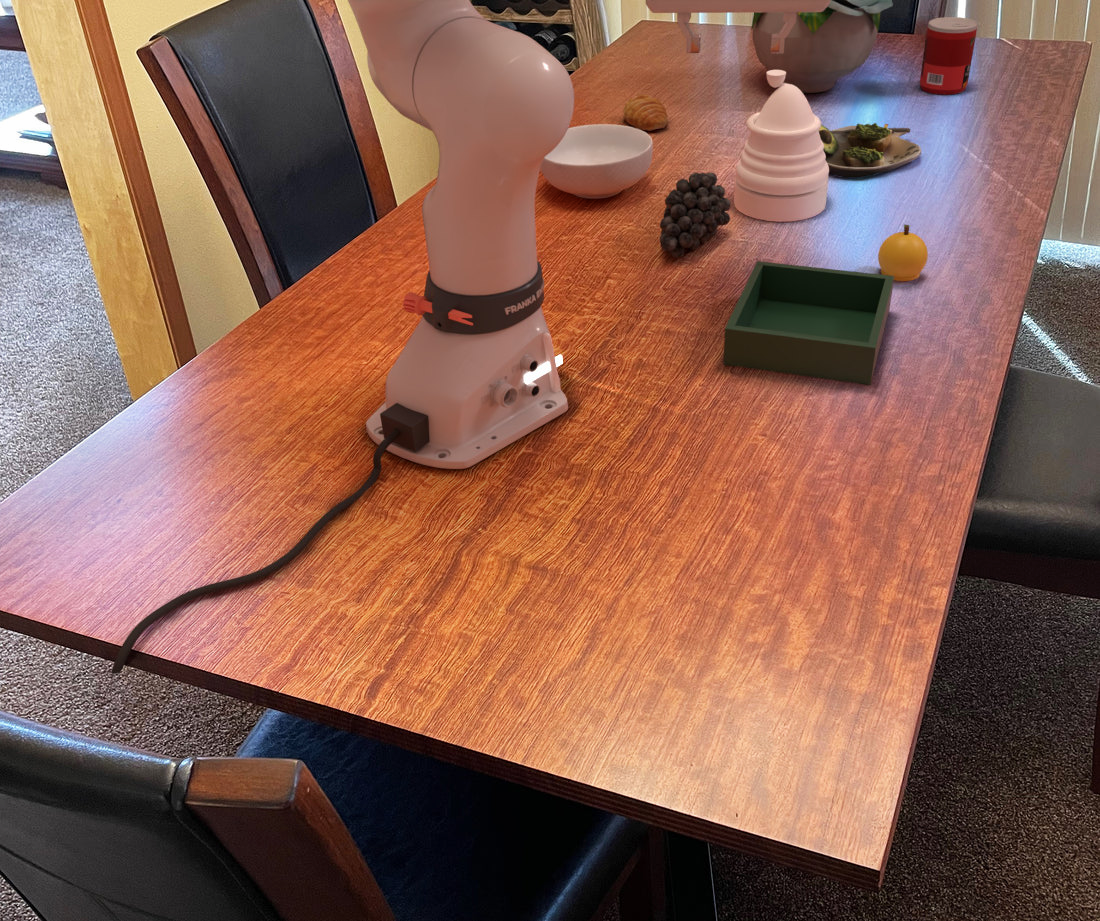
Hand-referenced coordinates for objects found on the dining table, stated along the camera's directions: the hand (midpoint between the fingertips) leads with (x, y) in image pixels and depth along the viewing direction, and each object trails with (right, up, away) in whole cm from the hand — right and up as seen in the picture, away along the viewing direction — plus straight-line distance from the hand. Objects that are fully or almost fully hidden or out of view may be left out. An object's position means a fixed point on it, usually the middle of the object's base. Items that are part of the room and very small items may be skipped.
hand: (735, 52), depth 126 cm
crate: (+8, -33, 0) cm, 34 cm away
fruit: (-3, -18, +23) cm, 29 cm away
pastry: (-5, +10, +61) cm, 62 cm away
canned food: (+48, +18, +67) cm, 84 cm away
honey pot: (+12, -10, +32) cm, 35 cm away
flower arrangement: (+25, +20, +72) cm, 79 cm away
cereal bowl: (-14, -6, +39) cm, 42 cm away
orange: (+22, -24, +11) cm, 35 cm away
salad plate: (+25, 0, +44) cm, 51 cm away
